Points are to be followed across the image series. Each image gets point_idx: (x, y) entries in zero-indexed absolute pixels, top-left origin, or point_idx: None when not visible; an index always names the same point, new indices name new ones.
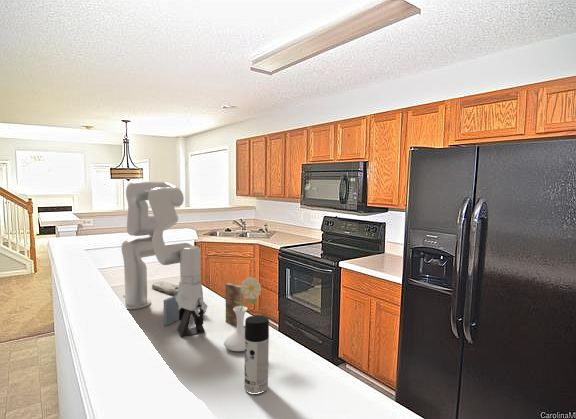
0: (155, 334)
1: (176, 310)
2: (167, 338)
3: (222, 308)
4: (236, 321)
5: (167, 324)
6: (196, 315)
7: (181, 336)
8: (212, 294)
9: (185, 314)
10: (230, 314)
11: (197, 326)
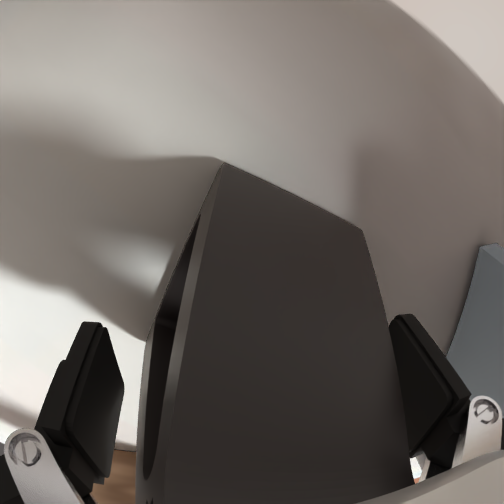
0: (464, 97)
1: (493, 373)
2: (331, 74)
3: None
4: None
5: (479, 255)
6: (141, 452)
7: (223, 163)
8: (415, 477)
9: (331, 407)
10: None
11: (86, 326)
